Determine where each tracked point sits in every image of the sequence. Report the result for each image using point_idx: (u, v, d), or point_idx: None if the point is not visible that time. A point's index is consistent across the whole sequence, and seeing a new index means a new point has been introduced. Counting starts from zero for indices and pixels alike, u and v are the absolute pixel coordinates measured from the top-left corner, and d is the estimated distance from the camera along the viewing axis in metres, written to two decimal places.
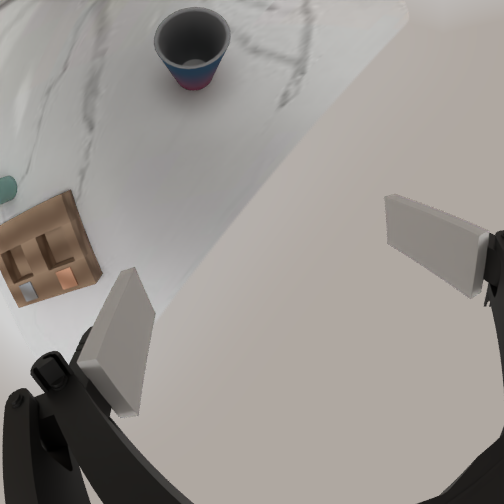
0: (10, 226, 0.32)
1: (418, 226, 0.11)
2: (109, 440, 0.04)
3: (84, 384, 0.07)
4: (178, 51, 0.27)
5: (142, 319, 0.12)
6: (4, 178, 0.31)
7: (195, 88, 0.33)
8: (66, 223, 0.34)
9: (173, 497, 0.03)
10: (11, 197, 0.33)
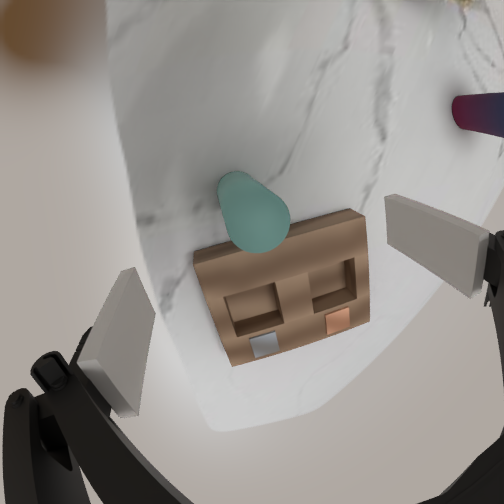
0: (263, 254, 0.28)
1: (418, 226, 0.11)
2: (109, 440, 0.04)
3: (84, 384, 0.07)
4: None
5: (142, 319, 0.12)
6: (248, 175, 0.27)
7: (472, 130, 0.28)
8: (362, 254, 0.30)
9: (173, 497, 0.03)
10: None
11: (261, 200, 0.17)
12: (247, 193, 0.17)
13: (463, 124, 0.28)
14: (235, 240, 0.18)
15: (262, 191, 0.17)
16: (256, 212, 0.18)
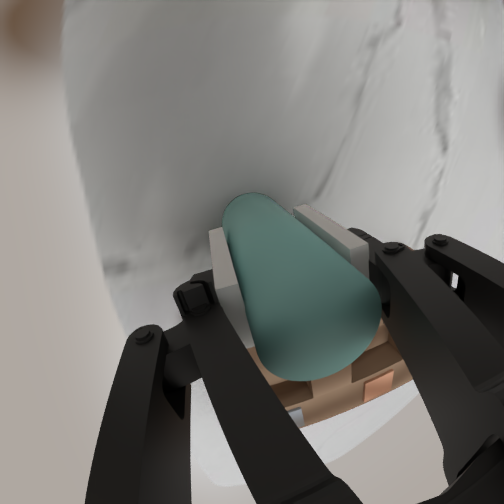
0: None
1: None
2: (247, 369, 0.06)
3: None
4: None
5: None
6: (272, 201, 0.17)
7: None
8: None
9: (300, 433, 0.04)
10: None
11: (334, 288, 0.08)
12: (305, 276, 0.07)
13: None
14: (271, 366, 0.08)
15: (337, 269, 0.07)
16: (320, 314, 0.08)
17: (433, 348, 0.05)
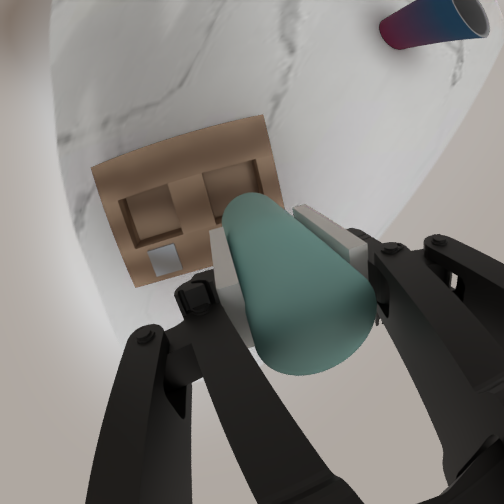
0: (153, 154, 0.26)
1: None
2: (248, 369, 0.06)
3: None
4: None
5: None
6: (271, 201, 0.17)
7: (404, 47, 0.26)
8: (265, 156, 0.28)
9: (301, 432, 0.04)
10: None
11: (330, 284, 0.08)
12: (301, 272, 0.08)
13: (392, 41, 0.26)
14: (269, 361, 0.08)
15: (333, 266, 0.08)
16: (316, 309, 0.08)
17: (432, 348, 0.05)
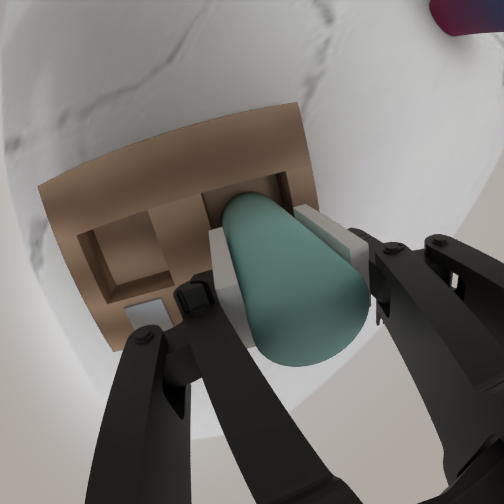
0: (124, 163, 0.16)
1: None
2: (247, 369, 0.06)
3: None
4: None
5: None
6: (269, 199, 0.17)
7: (461, 33, 0.16)
8: (300, 166, 0.18)
9: (300, 433, 0.04)
10: None
11: (324, 277, 0.08)
12: (296, 265, 0.08)
13: (448, 24, 0.16)
14: (266, 352, 0.09)
15: (326, 260, 0.08)
16: (311, 302, 0.08)
17: (433, 347, 0.05)
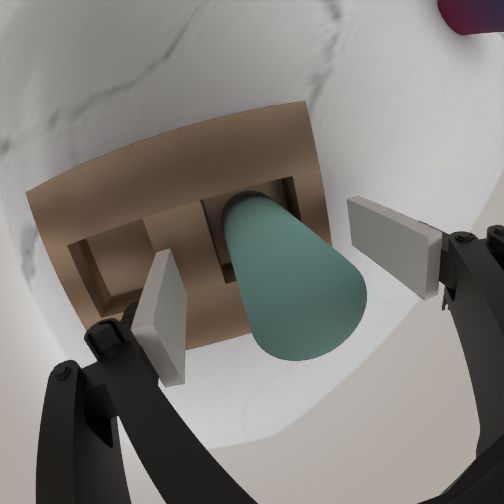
0: (116, 168, 0.14)
1: (375, 228, 0.12)
2: (161, 408, 0.05)
3: (136, 351, 0.08)
4: None
5: (179, 296, 0.13)
6: (269, 198, 0.18)
7: (470, 32, 0.15)
8: (308, 171, 0.16)
9: (222, 469, 0.04)
10: None
11: (321, 272, 0.08)
12: (294, 260, 0.08)
13: (457, 22, 0.15)
14: (265, 345, 0.09)
15: (324, 255, 0.08)
16: (309, 296, 0.09)
17: (487, 327, 0.05)
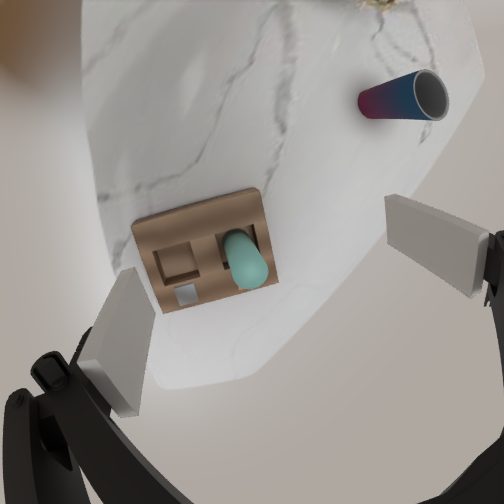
0: (178, 219, 0.37)
1: (418, 226, 0.11)
2: (109, 440, 0.04)
3: (84, 384, 0.07)
4: None
5: (142, 319, 0.12)
6: (244, 232, 0.41)
7: (377, 118, 0.39)
8: (260, 221, 0.40)
9: (173, 497, 0.03)
10: None
11: (252, 260, 0.31)
12: (244, 256, 0.31)
13: (367, 113, 0.39)
14: (237, 282, 0.32)
15: (252, 255, 0.31)
16: (249, 267, 0.32)
17: None
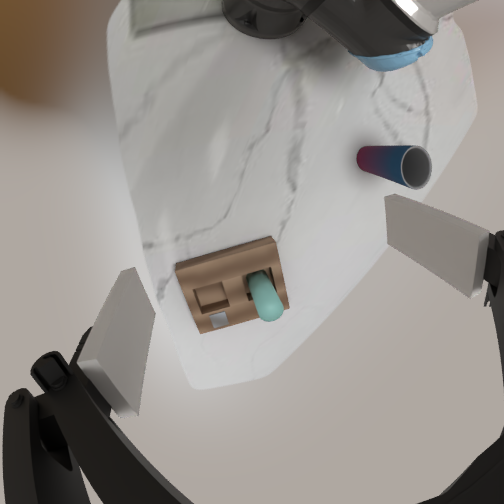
0: (213, 265, 0.49)
1: (418, 226, 0.11)
2: (109, 440, 0.04)
3: (84, 384, 0.07)
4: None
5: (142, 319, 0.12)
6: (263, 272, 0.53)
7: None
8: (276, 264, 0.51)
9: (173, 497, 0.03)
10: None
11: (272, 302, 0.43)
12: (266, 300, 0.43)
13: (364, 169, 0.50)
14: (261, 317, 0.44)
15: (272, 299, 0.43)
16: (270, 307, 0.44)
17: None
